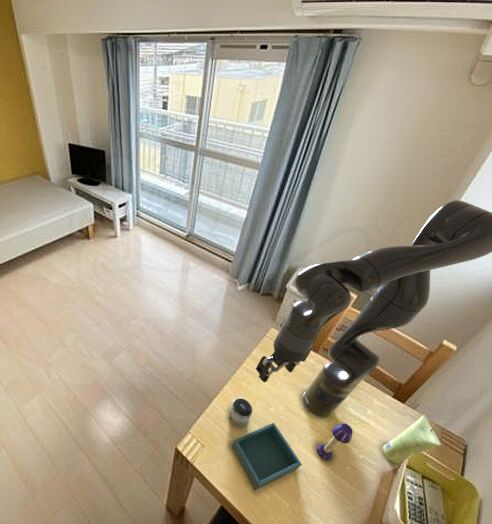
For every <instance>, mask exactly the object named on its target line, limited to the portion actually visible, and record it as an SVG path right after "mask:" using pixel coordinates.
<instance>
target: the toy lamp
mask: <svg viewBox="0 0 492 524" xmlns="http://www.w3.org/2000/svg"><path fill="white" fill-rule="evenodd" d="M353 431H354V430H353V428H352V427H351V426H350V424H348V423H344V422H343V423H338V424H336V425H334V426H332V428H331V433H332V435H333V437H332V438H331V439H330V440H329V441H328V442H327V443H326V444H318V445H317V446H316V453H317V455H318V456H319V457H320V459H322V460H324V461H330V460H331V459H332V458H333V452H332V450H333V449H334V448H335V447H337V445H338V444H339V443H342V444H349V443H350V442H351V441H352V438H353V433H354V432H353Z"/></svg>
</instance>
